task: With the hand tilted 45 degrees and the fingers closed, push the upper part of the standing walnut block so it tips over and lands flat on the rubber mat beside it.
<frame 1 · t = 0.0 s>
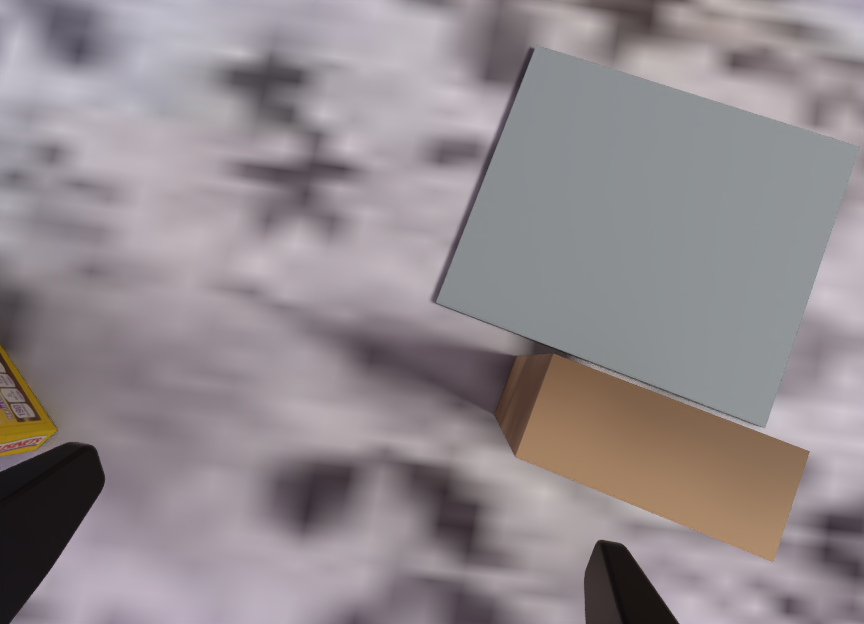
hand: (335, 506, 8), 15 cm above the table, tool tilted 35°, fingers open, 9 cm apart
walnut block: (575, 412, 23), on the table
mat: (642, 227, 23), on the table
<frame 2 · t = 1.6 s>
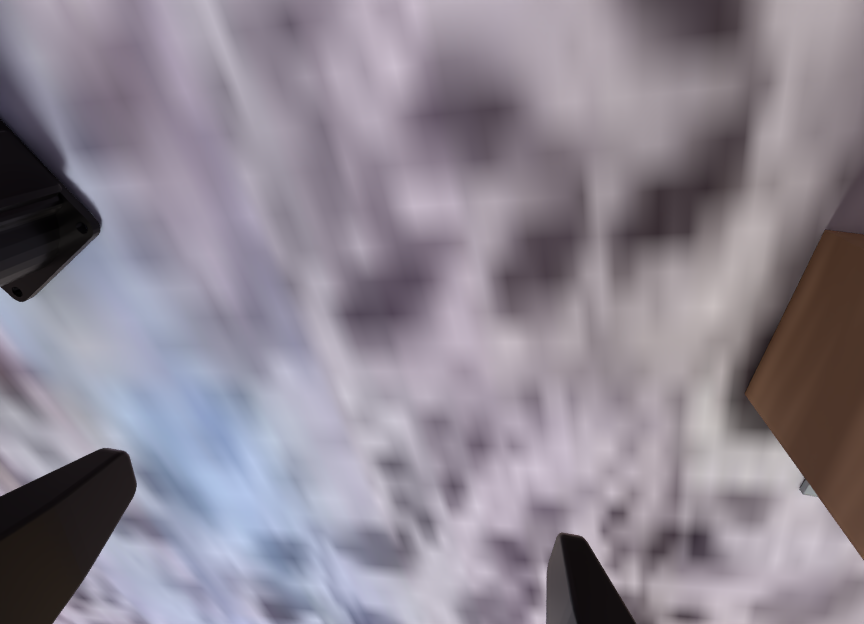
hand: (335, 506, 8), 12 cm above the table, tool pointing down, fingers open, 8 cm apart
walnut block: (823, 325, 18), on the table
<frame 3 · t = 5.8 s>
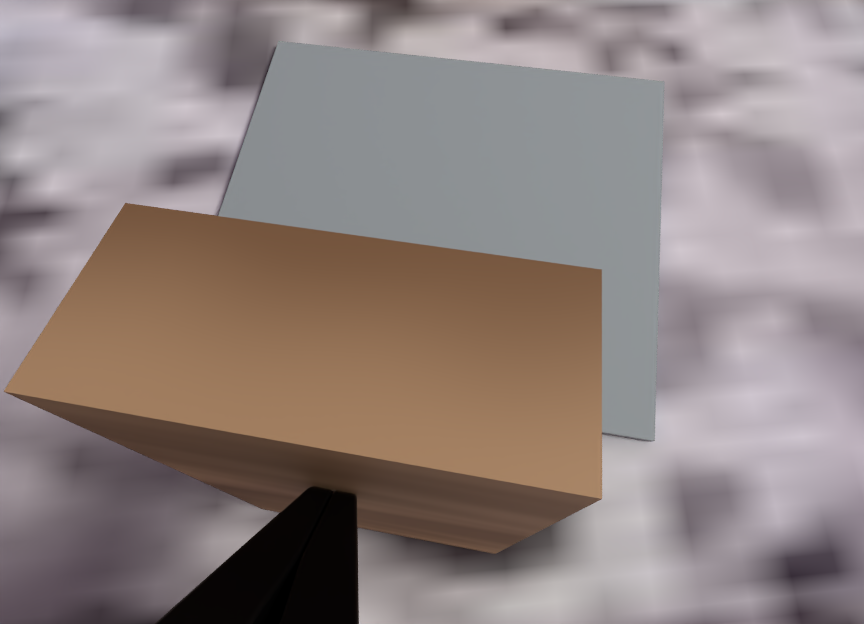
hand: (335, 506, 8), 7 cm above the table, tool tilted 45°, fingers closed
walnut block: (387, 478, 15), on the table, tilted 12°
mat: (436, 213, 18), on the table
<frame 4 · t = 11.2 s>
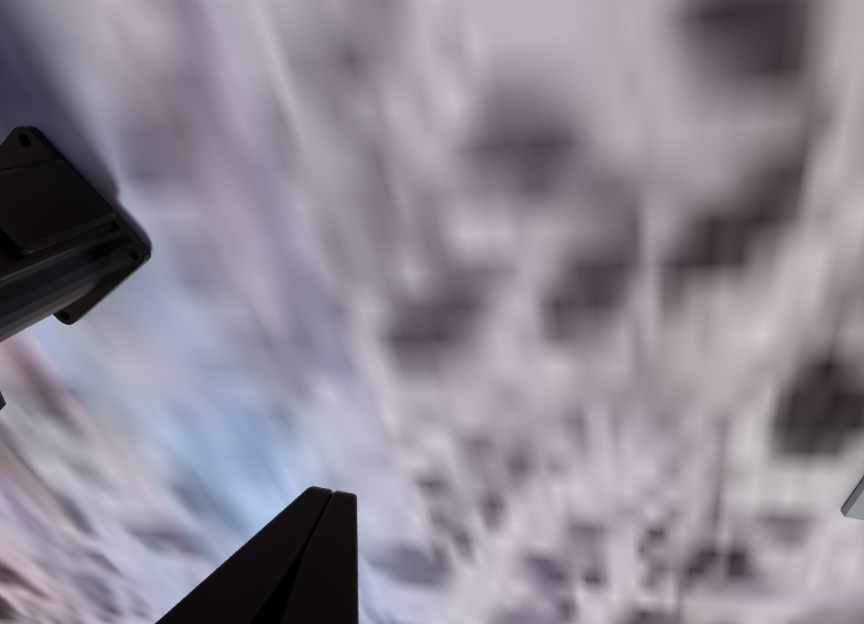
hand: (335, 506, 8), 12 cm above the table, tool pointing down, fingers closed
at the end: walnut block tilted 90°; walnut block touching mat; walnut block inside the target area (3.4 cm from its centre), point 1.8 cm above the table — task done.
